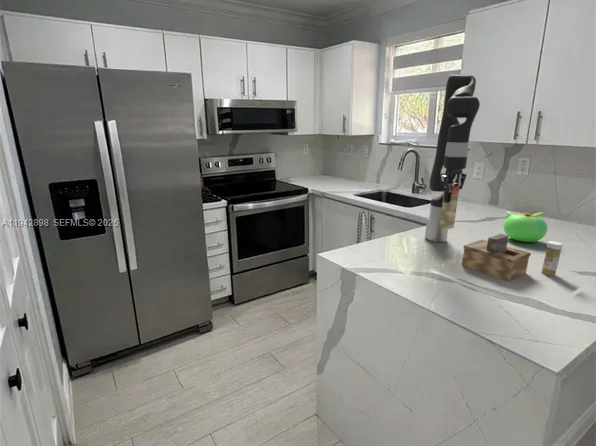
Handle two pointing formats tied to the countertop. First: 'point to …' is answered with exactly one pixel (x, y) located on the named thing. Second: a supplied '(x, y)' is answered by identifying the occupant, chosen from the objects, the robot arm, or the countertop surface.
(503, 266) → the wooden box
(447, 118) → the robot arm
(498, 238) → the lid
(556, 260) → the sprinkles bottle
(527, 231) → the green rounded piece
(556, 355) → the countertop surface
